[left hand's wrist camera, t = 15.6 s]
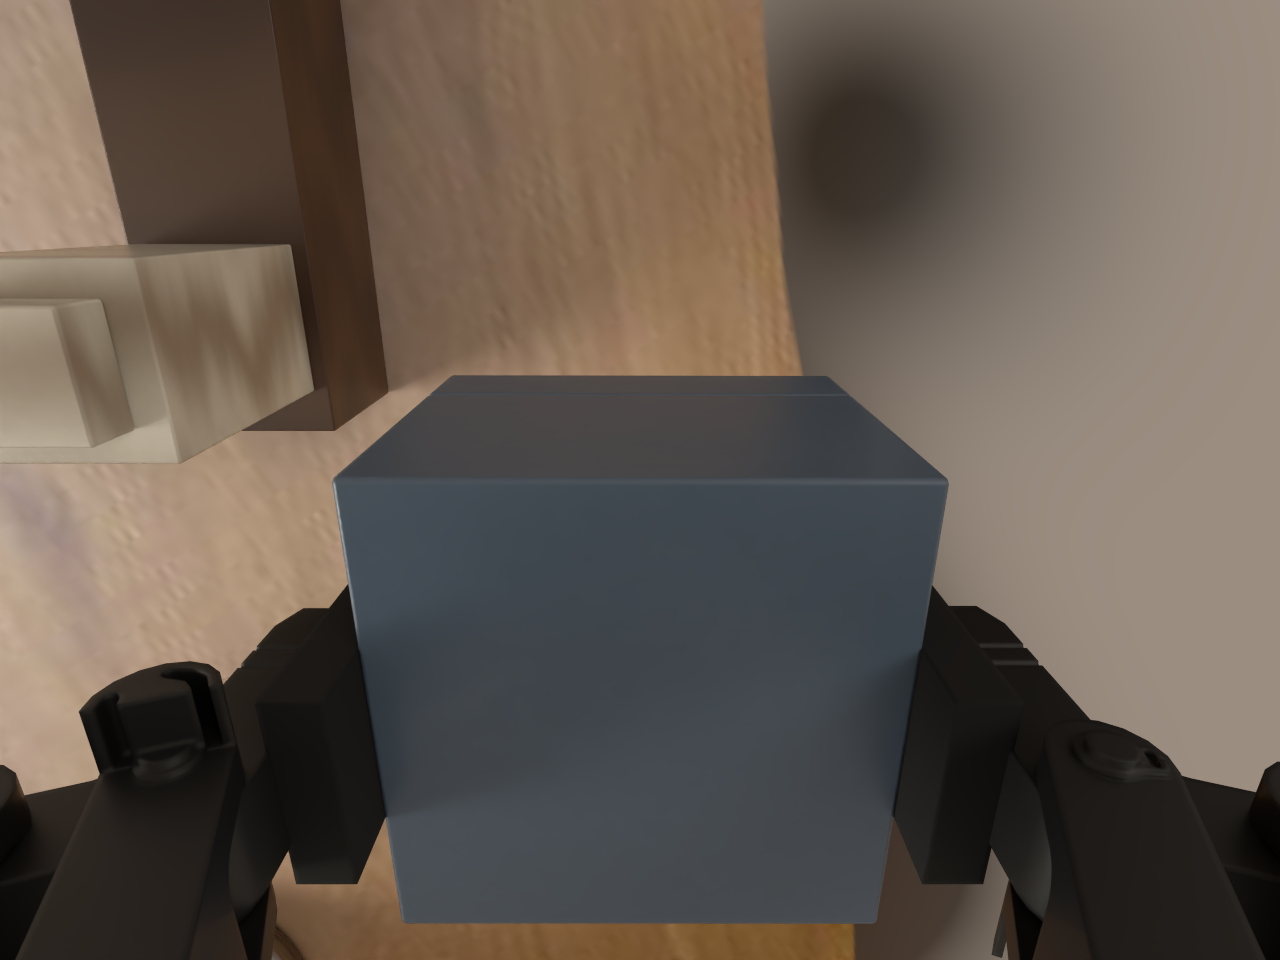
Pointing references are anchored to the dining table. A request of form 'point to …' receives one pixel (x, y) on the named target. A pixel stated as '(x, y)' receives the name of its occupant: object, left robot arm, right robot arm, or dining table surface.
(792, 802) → the slate blue cube
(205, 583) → the dining table surface
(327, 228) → the stand
